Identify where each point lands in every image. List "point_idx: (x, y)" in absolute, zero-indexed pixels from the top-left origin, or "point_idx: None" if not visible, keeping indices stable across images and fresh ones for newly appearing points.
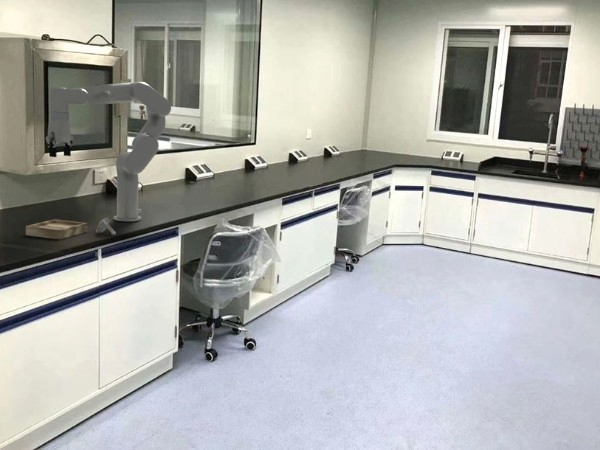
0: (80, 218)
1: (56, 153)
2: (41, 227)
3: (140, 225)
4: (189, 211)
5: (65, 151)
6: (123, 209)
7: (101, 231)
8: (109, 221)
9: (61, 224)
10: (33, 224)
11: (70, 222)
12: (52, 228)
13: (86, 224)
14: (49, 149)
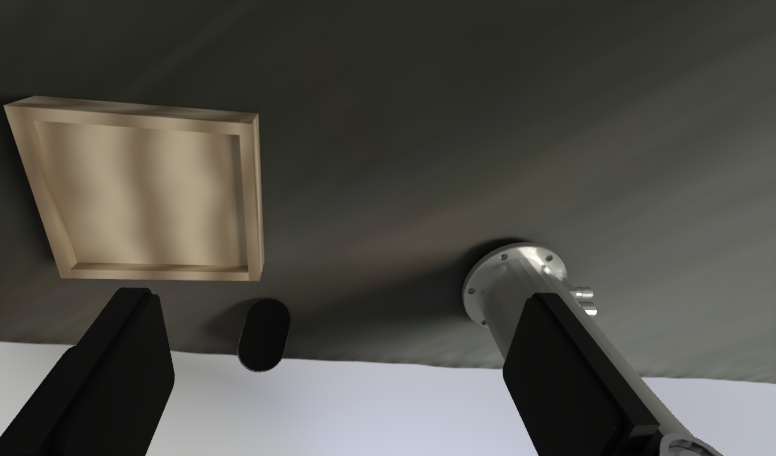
0: (522, 90)
1: (145, 436)
2: (41, 187)
3: (458, 336)
4: (756, 344)
5: (549, 373)
6: (489, 320)
7: (277, 306)
8: (280, 357)
9: (223, 178)
10: (66, 113)
11: (245, 213)
12: (120, 196)
13: (254, 278)
14: (39, 403)
